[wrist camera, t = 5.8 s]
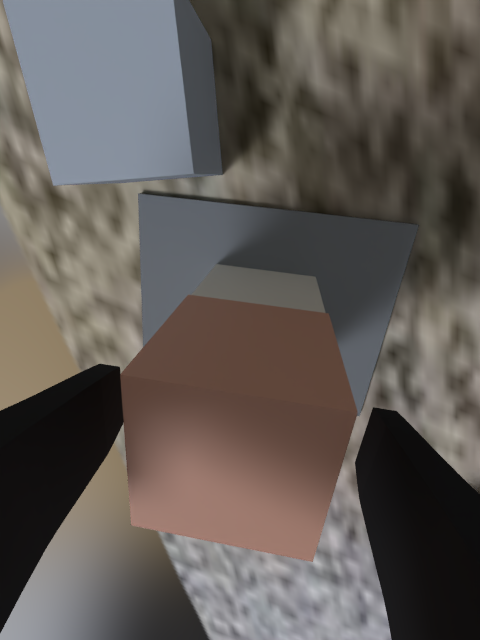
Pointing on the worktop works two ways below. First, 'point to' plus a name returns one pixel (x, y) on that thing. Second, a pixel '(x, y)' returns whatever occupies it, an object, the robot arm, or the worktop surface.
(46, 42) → the slate brick
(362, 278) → the mat
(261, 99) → the worktop surface
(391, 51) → the worktop surface
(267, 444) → the terracotta brick
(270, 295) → the cream brick
